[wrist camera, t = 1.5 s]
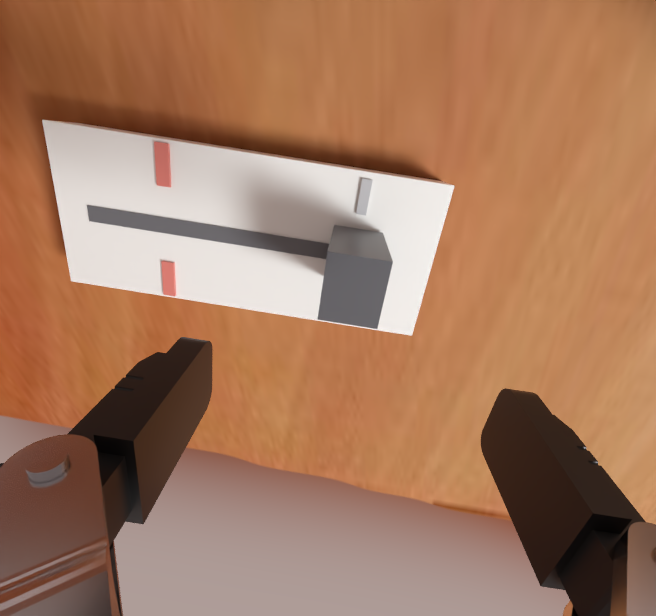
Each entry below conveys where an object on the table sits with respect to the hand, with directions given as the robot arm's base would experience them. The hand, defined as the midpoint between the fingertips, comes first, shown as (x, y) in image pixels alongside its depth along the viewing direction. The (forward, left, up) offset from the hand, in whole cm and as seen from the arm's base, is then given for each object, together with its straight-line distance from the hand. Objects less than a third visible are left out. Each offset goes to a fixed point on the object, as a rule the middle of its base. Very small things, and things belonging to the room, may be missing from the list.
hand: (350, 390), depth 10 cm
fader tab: (0, 0, -13) cm, 14 cm away
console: (+7, 0, -17) cm, 18 cm away
